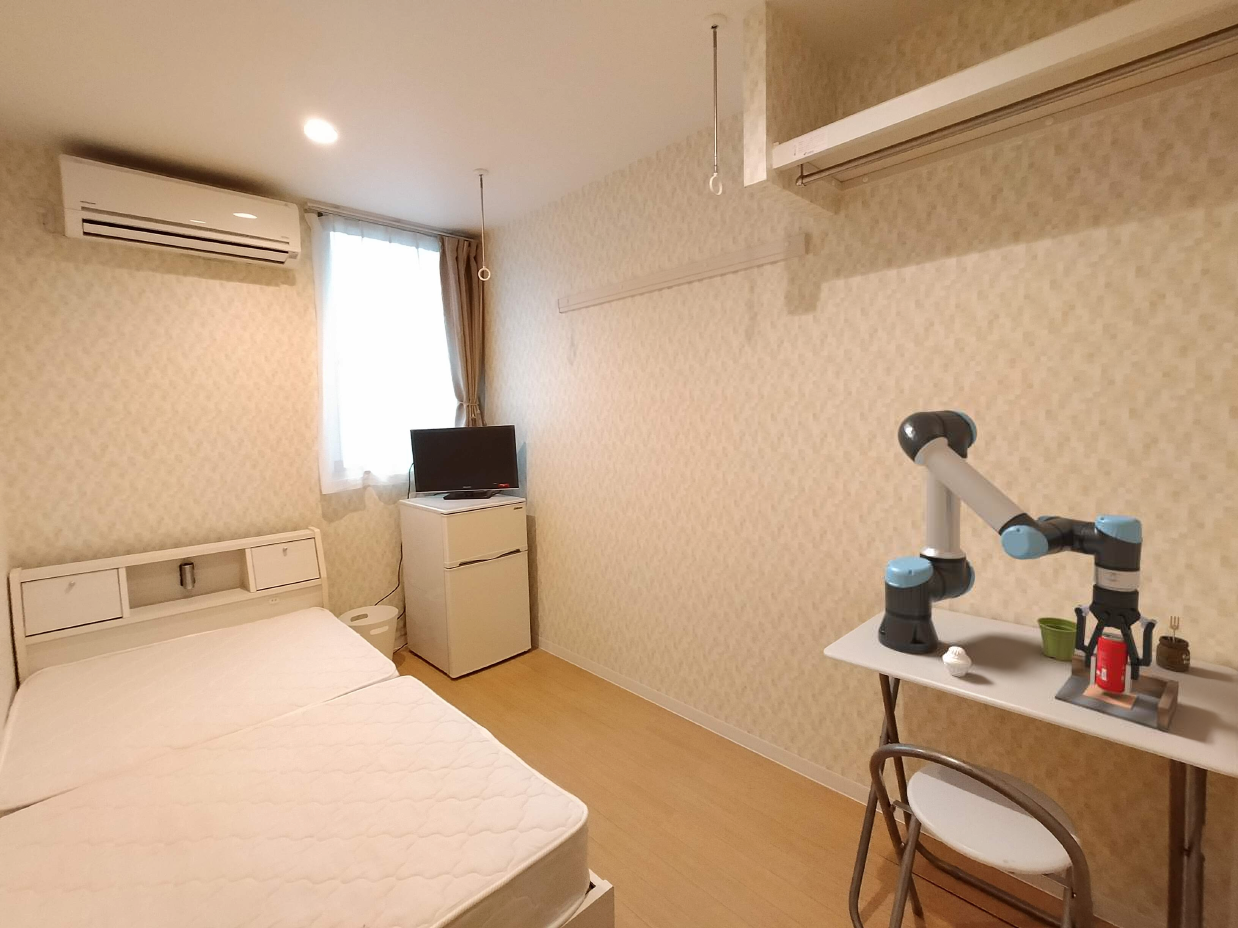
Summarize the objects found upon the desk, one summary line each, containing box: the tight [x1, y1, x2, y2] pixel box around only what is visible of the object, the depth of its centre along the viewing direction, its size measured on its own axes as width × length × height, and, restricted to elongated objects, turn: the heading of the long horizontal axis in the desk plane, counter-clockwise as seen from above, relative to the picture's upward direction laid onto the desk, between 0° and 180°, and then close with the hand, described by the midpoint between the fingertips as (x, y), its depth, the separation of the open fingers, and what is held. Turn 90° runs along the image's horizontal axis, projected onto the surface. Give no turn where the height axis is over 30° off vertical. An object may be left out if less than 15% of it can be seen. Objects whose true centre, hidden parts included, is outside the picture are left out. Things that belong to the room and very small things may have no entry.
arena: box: [1054, 654, 1180, 734], centre depth 122 cm, size 18×16×5 cm
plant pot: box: [1036, 616, 1077, 662], centre depth 144 cm, size 9×9×9 cm
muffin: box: [942, 646, 972, 678], centre depth 137 cm, size 6×6×7 cm
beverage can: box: [1095, 631, 1129, 693], centre depth 122 cm, size 5×5×12 cm
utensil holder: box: [1155, 615, 1191, 673], centre depth 136 cm, size 6×6×12 cm
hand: (1110, 687), depth 123 cm, fingers closed on beverage can, 5 cm apart
